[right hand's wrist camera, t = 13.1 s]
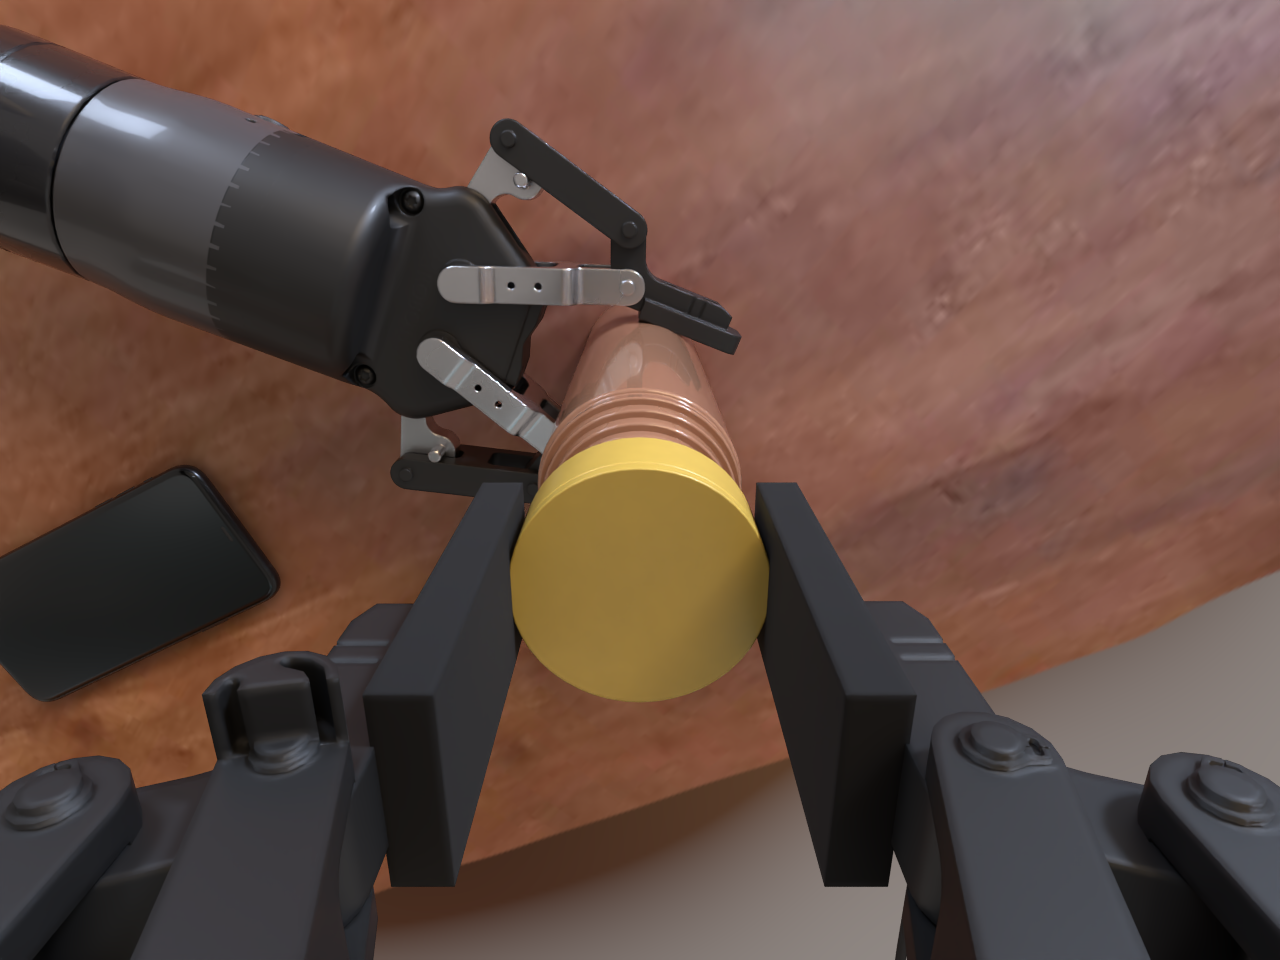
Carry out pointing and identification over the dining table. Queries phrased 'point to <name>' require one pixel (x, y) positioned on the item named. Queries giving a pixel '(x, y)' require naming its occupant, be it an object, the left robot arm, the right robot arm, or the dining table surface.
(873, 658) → the right robot arm
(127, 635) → the smartphone
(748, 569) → the cap
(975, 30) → the dining table surface
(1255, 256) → the dining table surface
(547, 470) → the bottle
